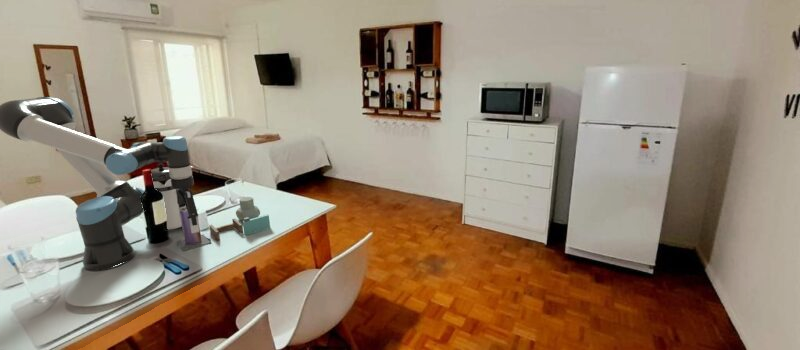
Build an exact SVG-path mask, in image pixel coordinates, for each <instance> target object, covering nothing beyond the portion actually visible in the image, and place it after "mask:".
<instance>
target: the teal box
mask: <svg viewBox="0 0 800 350" xmlns="http://www.w3.org/2000/svg"><path fill="white" fill-rule="evenodd" d="M243 220H244V221H242V227H243V234H244V235H245V236H247V235H250V234H254V233H257V232H259V231H264V230H267V229H270V228H271V222H270V215H269V214H264V215H261V216H260V215H259V216H258V217H257V218H253V219H250V218H249V217H246V218H243Z"/></svg>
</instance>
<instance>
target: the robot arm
mask: <svg viewBox="0 0 800 350" xmlns="http://www.w3.org/2000/svg"><path fill="white" fill-rule="evenodd" d="M74 119H75V116H74V111H73V109H72V108H71V106H70V105H69V104H67V103H66V102H65V101H64V100H61V99H59V98H56V97H51V96H49V97H48V96H47V97H46V96H39V97H34V98H28V99H26V98H25V99H17V100H9V101H6V102H4V103H1V104H0V131H1V132H2V133H4V134H6V135H8V136H10V137H12V138H14V139H17V140H20V141H23V142H27V143H28V142H29V143H30V142H32V141H33V142H35V143H39V144H42V145H45V146H48V147H50V148H54V149H55V150H56V151H57V152H58V153H59V154H60V155H61V156H62V157H63V159H64V160H65V161H67V162H68V164H69V165H70V166H71V167H72V168H73V169H74V170H75V171H76V173H78V174H79V175H80V177H82V179H83V180H84V181H85V182H86V183H87V185H89V186H90V187H91V188H92V190H93V191H94V192H95V193H96V194H97V195H96V197H94V198H90V199H87V200H85V201H84V202H81V203H80V204H78V206H77V207H76V209H75V215H76V219H75V220H76V222H77V224H78V228H79V231H80V234H81V237H82V240H83V244H84V252H83V258H82V264H83V268H84V270H87V271H92V272H97V271H106V270H109V269H108V268H110V269H112V268H111V267H113V266H115V265H118V264H120V263H123V262H126V261H128V262H130V261H131V260H132V259H133V258H134V257H135V251H134V250H135V249H134V247H133V245H132V244H131V243H130V242H129V241H128V239H127V238H126V237H125V234H124V230H123V229H124V228H123V226H125V225H126V224H127V223H130V222H131V221H133V220H134V219H136V218H138V217H139V216H141V215H142V214H143V213H145V211H143V208H142V204H141V202H140V196H141V195H142V194H143V193H144V192H145V191H144V190H143V188H141V187H137V186H131V184H130V183H129V182H128V181H127V180H125V181H124V180H120V178H119V177H118V176H121V175H122V176H124V175H126V174H131V173H132V172H134V171H136V170H138V169H140V168H143V167H145V166H148V165H150V164H153V163H167V164H166V165H167V167H168V169H169V174H170V177H171V184H172V187H173V188H175V189H177V203H178V204H179V207H180V208H181V207H184V206H186V208H187V211H188V214H189V217H187V218H188V219H189V222H190V228H191V233H195V232H199V227H200V224H199V225H198V221H199V219H198V220H197V217H198V218H199V214H198V211H197V206H196V203H195V200H194V194H193V191H192V190H191V189H190V187H193V186H194V185H195V182H194V176H193V170H192V169H193V168H194V167H193V166H192V165H191V160H190V153H189V146H188V142H187V139H186V137H185V136H181V135H175V136H173V135H172V136H166V137H164V138H163V140H162V142H157V141H156V142H153V141H148V142H147V141H141V142H133V144H132V145H131V146H130V147H129V148H125V147H122V146H119V145H116V144H113V143H110V142H108V141H104V140H101V139H99V138H96V137H94V136H90V135H88V134H84V133H82V132H78V131H76V130H75V129H76V126H77V124H76V122H75V121H74ZM126 263H127V262H126ZM105 269H106V270H105Z"/></svg>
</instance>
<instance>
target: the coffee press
mask: <svg viewBox="0 0 800 350" xmlns="http://www.w3.org/2000/svg"><path fill="white" fill-rule="evenodd" d="M150 170H151V172H152V178H153V183H154V187H155V189H157V190H158V191H160V192H161V193H162V194H163V197H164V202H165V208H166V214H167V229H168V230H167V231H170V230H176V229H179V228H181V229H182V223H181V218H180V213H179V211H180V210H179V209H180V207H179V204H178V203H177V189H175V188H173V187H172V184H171V177H170V174H169V169H168V166H166V167H165V165H164V163H163V162H158V164H157V167H156V168H153V169H150Z"/></svg>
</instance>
